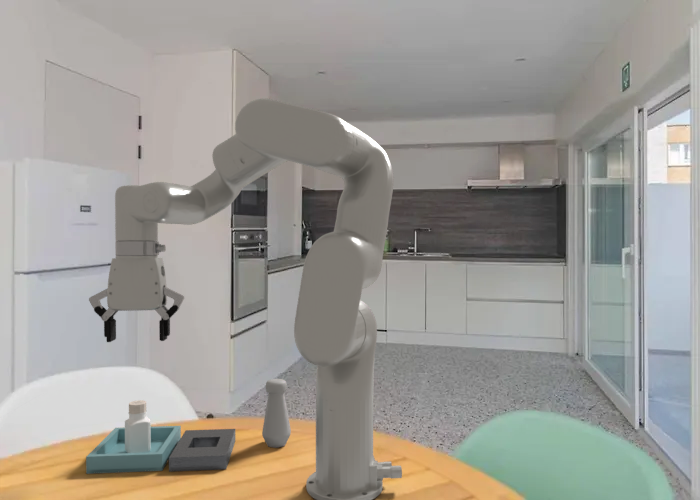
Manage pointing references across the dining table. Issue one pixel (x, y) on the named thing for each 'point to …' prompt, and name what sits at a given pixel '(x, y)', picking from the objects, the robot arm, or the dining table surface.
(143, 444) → the pepper shaker
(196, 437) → the socket block
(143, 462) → the tray
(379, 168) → the robot arm
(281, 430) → the salt shaker
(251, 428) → the dining table surface
